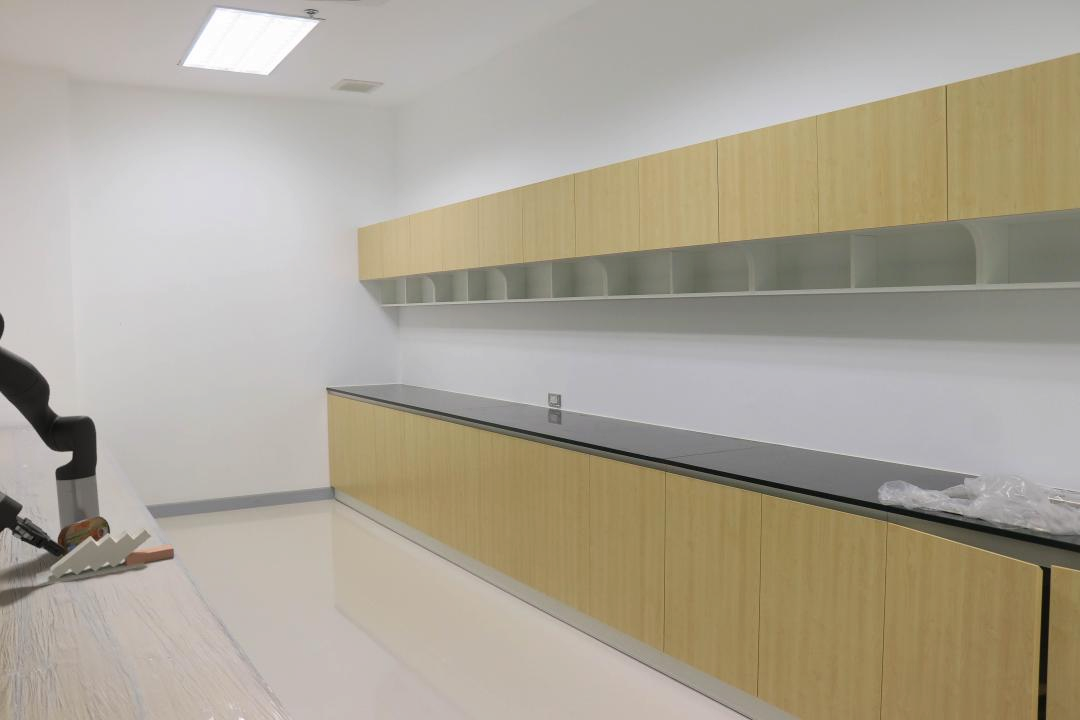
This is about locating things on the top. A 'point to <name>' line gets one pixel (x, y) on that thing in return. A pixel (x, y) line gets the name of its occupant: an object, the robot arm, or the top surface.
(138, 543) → the domino
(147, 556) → the domino
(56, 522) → the top surface
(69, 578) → the mat
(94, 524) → the tin
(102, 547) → the domino
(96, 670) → the top surface
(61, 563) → the domino
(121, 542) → the domino
